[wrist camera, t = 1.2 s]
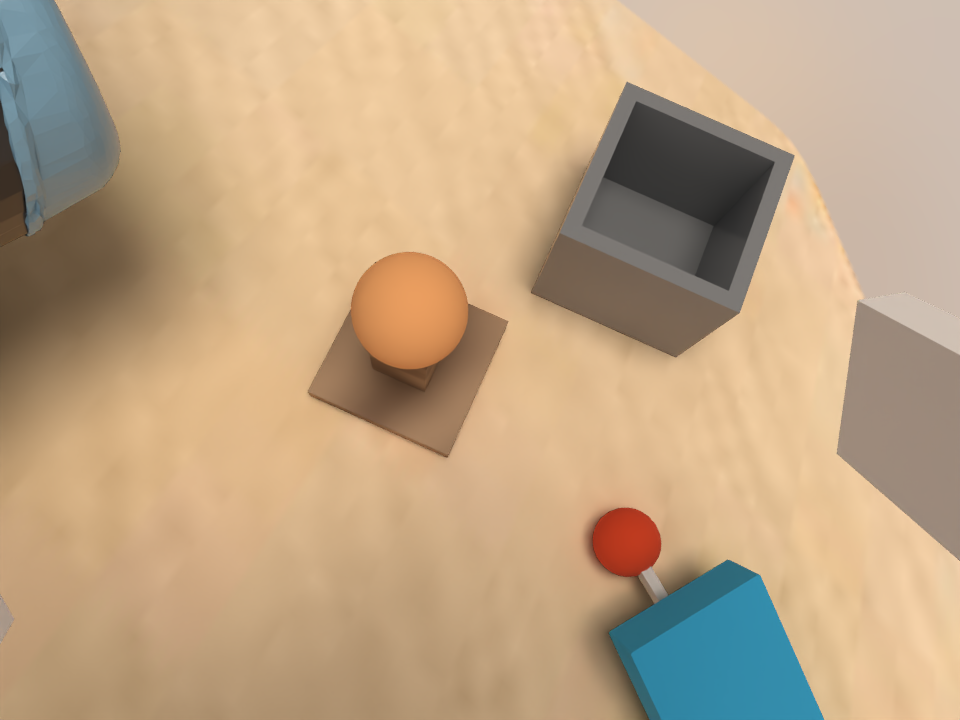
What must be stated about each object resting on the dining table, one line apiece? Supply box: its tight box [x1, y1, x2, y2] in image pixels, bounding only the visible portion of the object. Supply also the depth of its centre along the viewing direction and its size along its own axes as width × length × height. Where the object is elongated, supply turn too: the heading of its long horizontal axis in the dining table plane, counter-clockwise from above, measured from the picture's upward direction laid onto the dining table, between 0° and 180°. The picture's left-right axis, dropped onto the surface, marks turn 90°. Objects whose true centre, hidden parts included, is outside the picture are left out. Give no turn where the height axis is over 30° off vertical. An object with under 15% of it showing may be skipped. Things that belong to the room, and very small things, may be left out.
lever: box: [593, 508, 824, 720], centre depth 34 cm, size 7×7×18 cm
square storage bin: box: [531, 82, 795, 357], centre depth 37 cm, size 9×9×8 cm
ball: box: [351, 252, 468, 369], centre depth 30 cm, size 5×5×5 cm
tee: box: [308, 262, 508, 457], centre depth 35 cm, size 8×8×6 cm
